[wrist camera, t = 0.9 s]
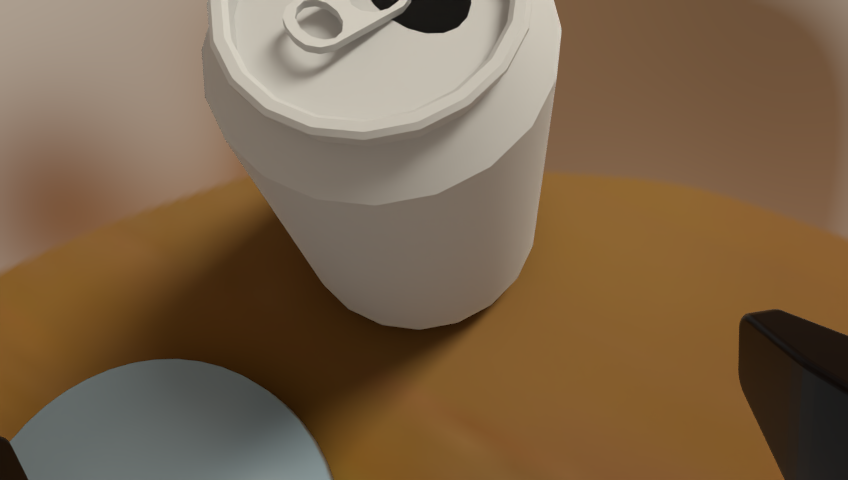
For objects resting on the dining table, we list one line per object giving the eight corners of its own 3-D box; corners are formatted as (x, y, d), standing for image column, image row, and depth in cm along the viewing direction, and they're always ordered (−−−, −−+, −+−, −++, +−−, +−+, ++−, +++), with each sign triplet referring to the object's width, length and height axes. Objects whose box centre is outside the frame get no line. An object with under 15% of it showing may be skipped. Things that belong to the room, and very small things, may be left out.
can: (582, 244, 25) (658, 3, 13) (395, 384, 23) (308, 249, 12) (443, 89, 27) (409, -222, 16) (268, 209, 26) (100, -35, 15)
